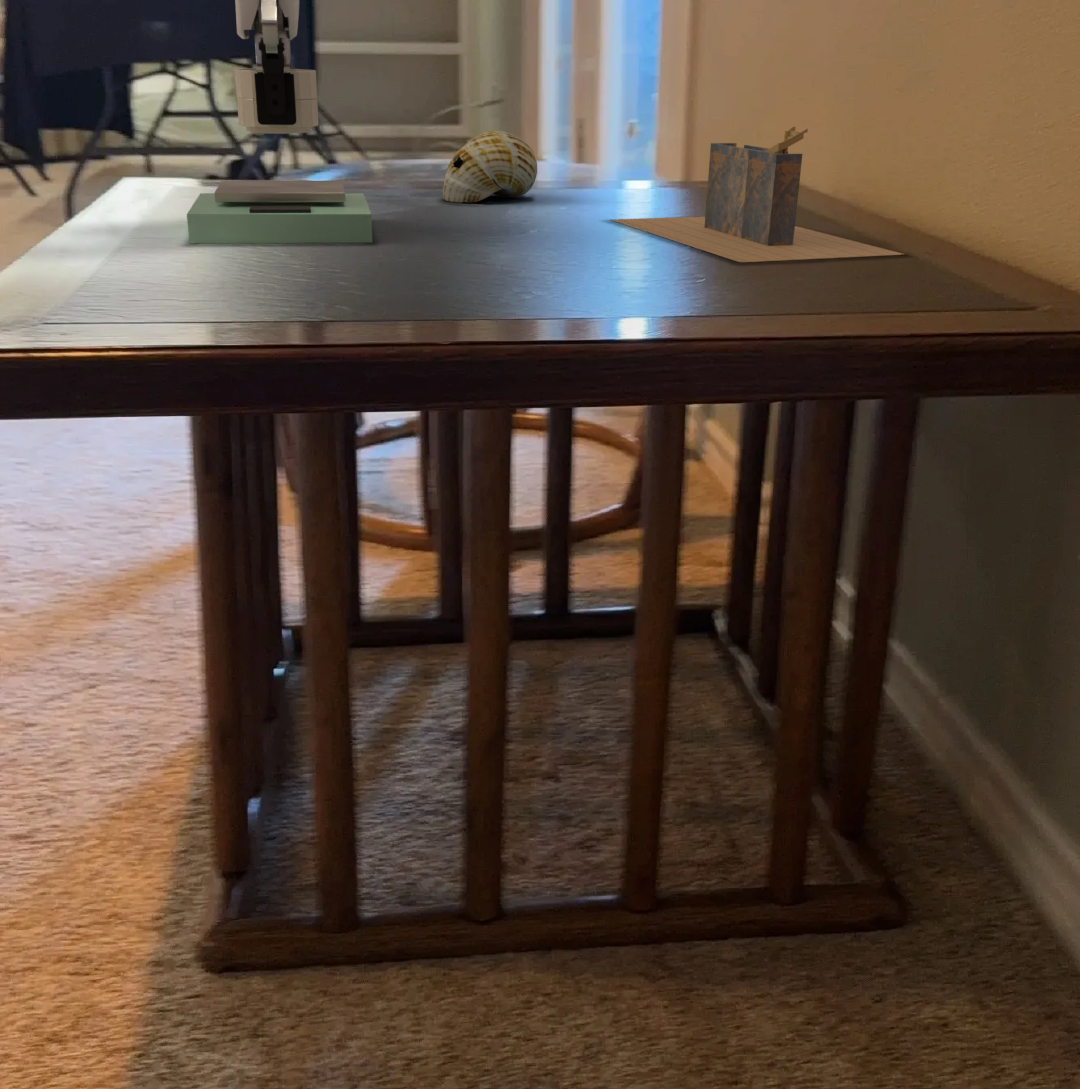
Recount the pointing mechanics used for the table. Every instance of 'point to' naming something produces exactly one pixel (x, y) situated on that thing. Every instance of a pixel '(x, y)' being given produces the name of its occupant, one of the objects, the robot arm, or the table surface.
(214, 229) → the scale
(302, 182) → the pan
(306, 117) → the bowl
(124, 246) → the table surface
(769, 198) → the ruin model on sheet
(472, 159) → the seashell
